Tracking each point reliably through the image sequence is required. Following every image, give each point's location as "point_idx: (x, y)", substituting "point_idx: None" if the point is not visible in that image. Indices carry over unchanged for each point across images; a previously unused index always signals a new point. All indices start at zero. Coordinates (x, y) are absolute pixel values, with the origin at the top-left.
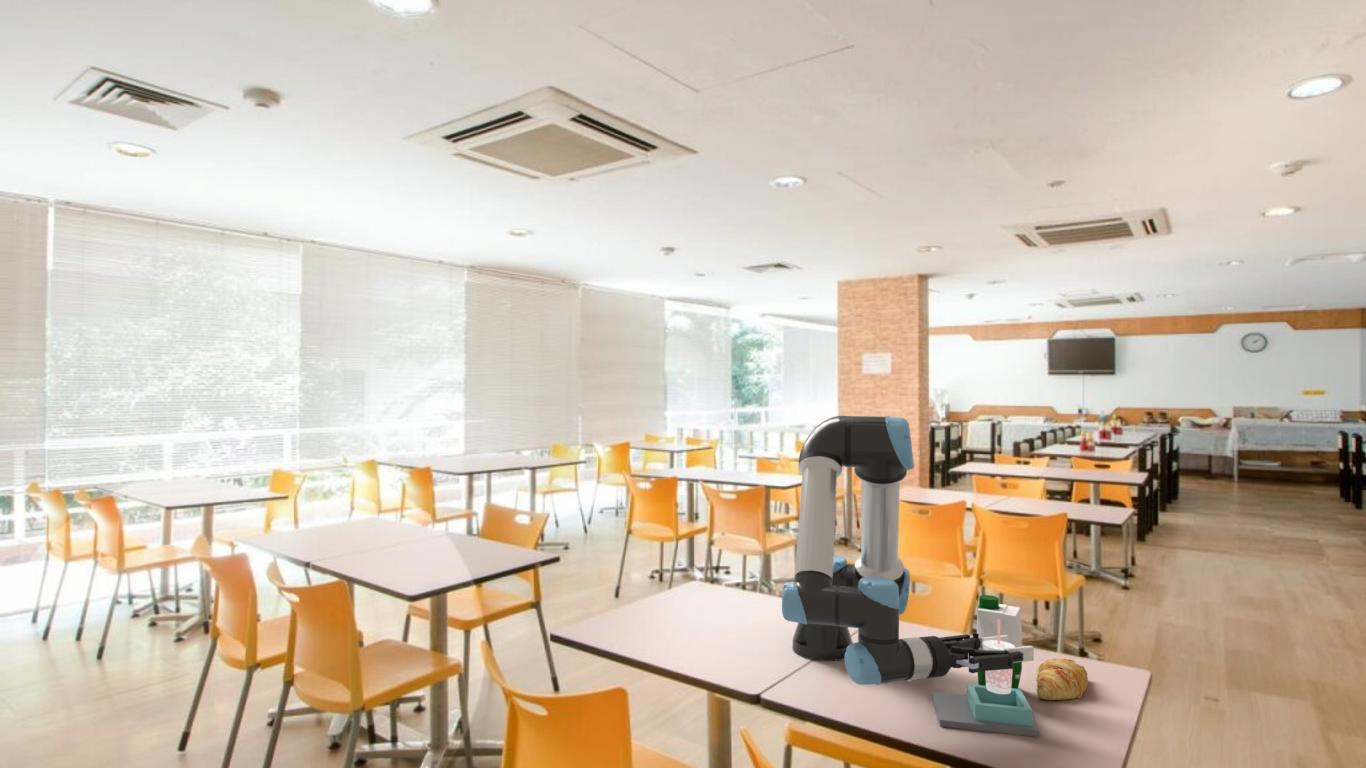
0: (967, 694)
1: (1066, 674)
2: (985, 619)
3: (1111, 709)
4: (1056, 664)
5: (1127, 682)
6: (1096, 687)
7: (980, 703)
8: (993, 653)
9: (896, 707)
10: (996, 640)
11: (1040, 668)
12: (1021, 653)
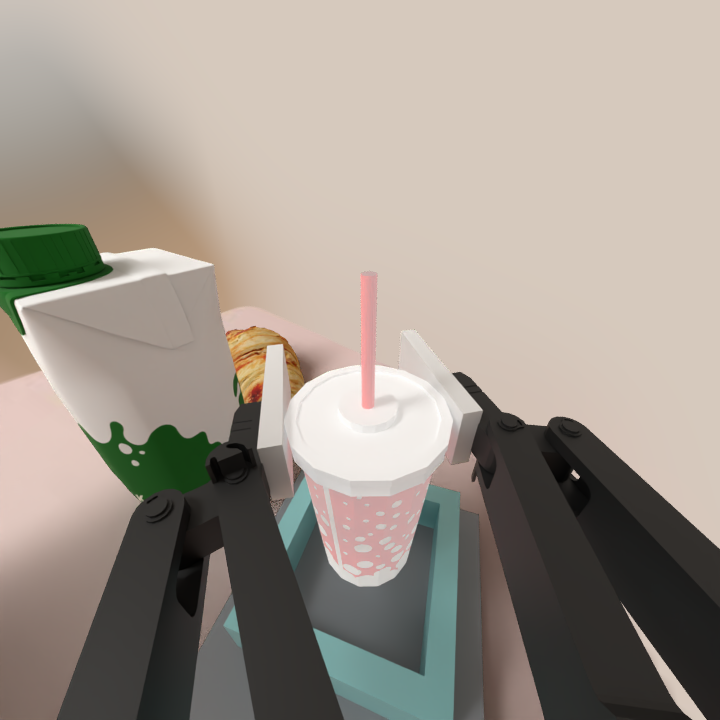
0: None
1: None
2: (100, 334)
3: (342, 362)
4: (248, 347)
5: (271, 321)
6: None
7: (434, 685)
8: (563, 504)
9: None
10: (301, 393)
11: None
12: (465, 377)
